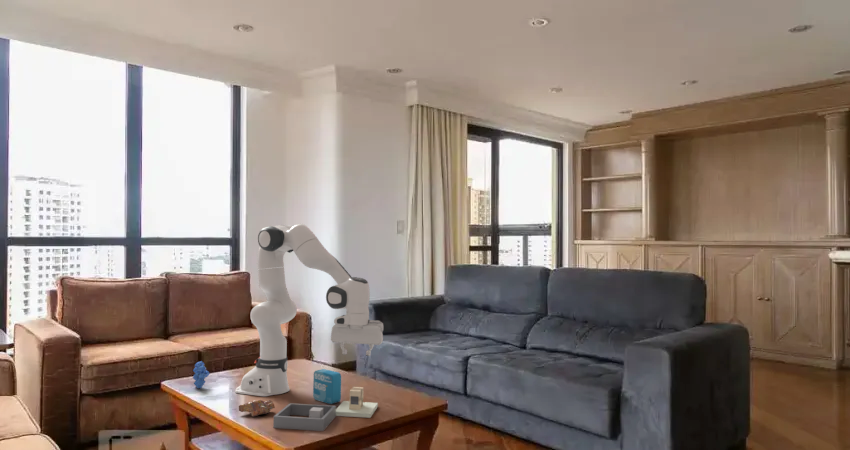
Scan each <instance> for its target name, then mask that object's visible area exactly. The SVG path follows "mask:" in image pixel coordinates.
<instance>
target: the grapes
mask: <svg viewBox="0 0 850 450" xmlns="http://www.w3.org/2000/svg"><path fill="white" fill-rule="evenodd" d="M192 372H194V374H193V376H192V379H193V380H194V381H193V384H194V386H195V387H196V388H197V389H199V388H200V389H202V387H203V386H205V383H206V380H205V379H206V378H208V376H209V375H210V374H211V373H210V372H209V371H208V369H207V367H206V366H205V363H204V361H202V360H201V361H197V362H196V363H195V364H194V368H193V370H192Z"/></svg>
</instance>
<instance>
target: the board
mask: <svg viewBox="0 0 850 450" xmlns="http://www.w3.org/2000/svg"><path fill="white" fill-rule="evenodd" d="M378 406H379V403H378V402H369V401H365V402H364V401H363V406H362V407H361V409H360V410H354V409H349V400H343V401H342V402H341V403H340V404H339V405H338V407H336V417H350V418H353V417H354V418H368V419H370V418H371V417H372V416H373V415H374V413H375V411H376V410H377V408H378Z"/></svg>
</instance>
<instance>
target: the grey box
mask: <svg viewBox="0 0 850 450" xmlns="http://www.w3.org/2000/svg"><path fill="white" fill-rule="evenodd" d="M322 417H323V408H319V407H313V408H311V409H310V410H309V416H308V418H322Z"/></svg>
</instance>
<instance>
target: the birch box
mask: <svg viewBox="0 0 850 450" xmlns="http://www.w3.org/2000/svg"><path fill="white" fill-rule="evenodd" d="M348 401H349V409H354V410H360V409H361V407H362V406H363V402H364V387H361V386H352V388H350V390H349V400H348Z"/></svg>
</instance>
